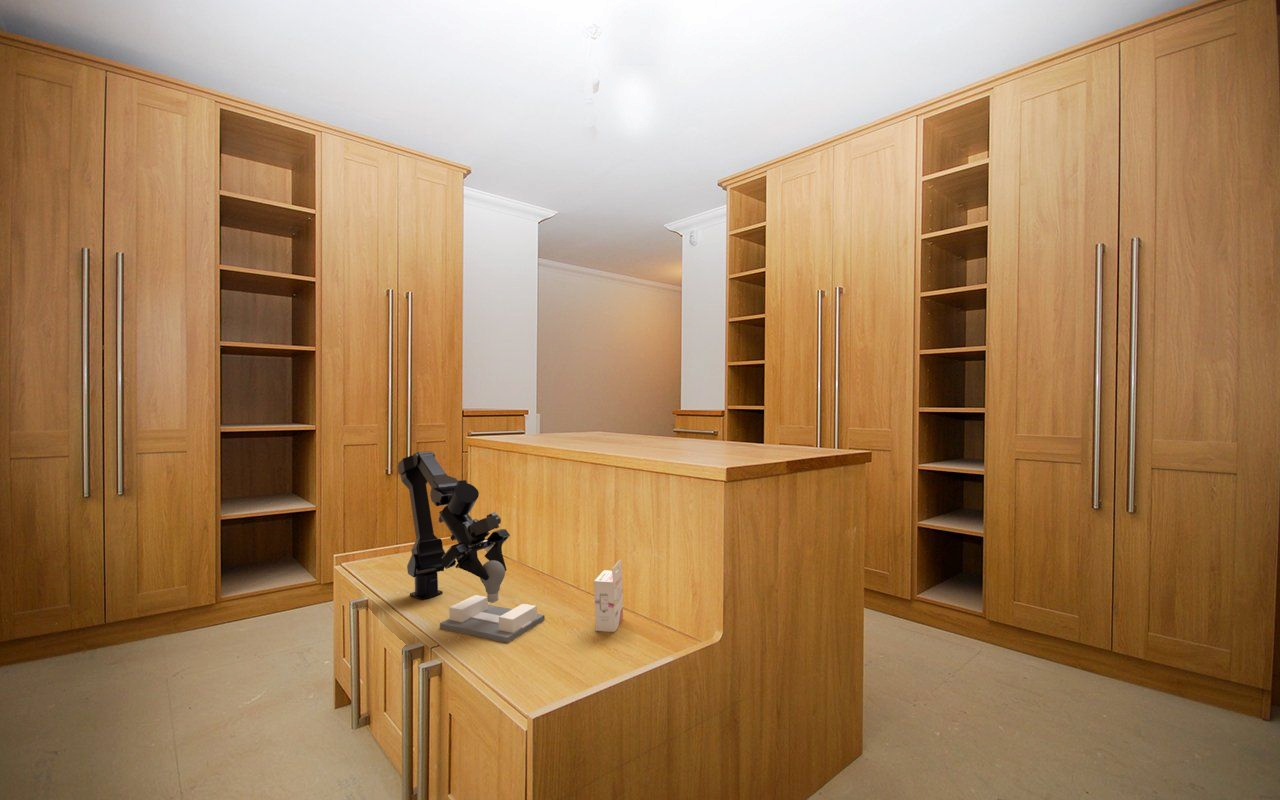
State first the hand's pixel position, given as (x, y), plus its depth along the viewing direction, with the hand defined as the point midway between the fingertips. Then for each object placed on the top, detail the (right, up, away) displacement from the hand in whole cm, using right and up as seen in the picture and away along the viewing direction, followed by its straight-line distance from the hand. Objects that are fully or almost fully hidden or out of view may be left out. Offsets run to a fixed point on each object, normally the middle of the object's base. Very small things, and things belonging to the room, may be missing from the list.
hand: (496, 575), depth 132 cm
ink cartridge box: (+27, -12, -1) cm, 30 cm away
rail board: (-1, -12, 0) cm, 12 cm away
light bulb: (-1, -7, +1) cm, 7 cm away
